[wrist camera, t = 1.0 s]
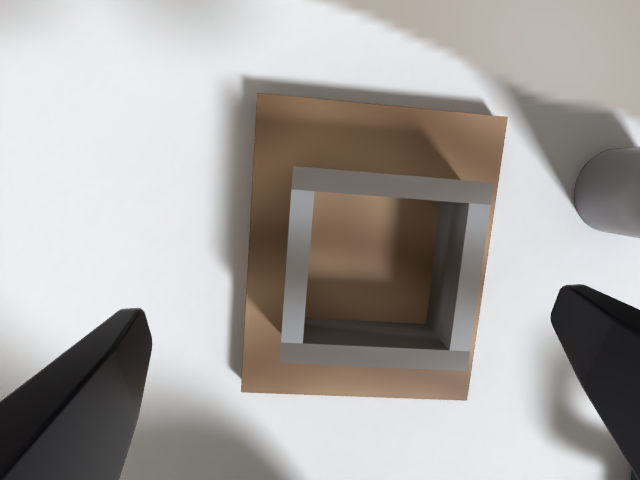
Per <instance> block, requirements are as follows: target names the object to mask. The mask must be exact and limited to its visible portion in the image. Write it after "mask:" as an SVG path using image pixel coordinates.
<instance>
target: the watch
mask: <svg viewBox="0 0 640 480" xmlns="http://www.w3.org/2000/svg"><path fill="white" fill-rule="evenodd" d="M631 480H638V478H637V477H636V475H635V473H634V472H633V470H632V473H631Z"/></svg>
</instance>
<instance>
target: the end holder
mask: <svg viewBox="0 0 640 480" xmlns="http://www.w3.org/2000/svg"><path fill="white" fill-rule="evenodd" d="M507 118H508V117H503V116H493V115H482V114H472V113H461V112H451V111H441V110H430V109H420V108H409V107H399V106H388V105H378V104H368V103H357V102H347V101H336V100H326V99H316V98H305V97H295V96H284V95H274V94H264V93H257V108H256V126H255V145H254V163H253V182H252V200H251V219H250V237H249V255H248V274H247V292H246V311H245V329H244V348H243V366H242V385H241V392H249V393H276V394H303V395H331V396H358V397H385V398H413V399H440V400H467V396H468V389H469V382H470V376H471V369H472V362H473V355H474V348H475V341H476V334H477V327H478V320H479V313H480V306H481V299H482V292H483V285H484V278H485V271H486V264H487V257H488V250H489V243H490V237H491V230H492V223H493V216H494V209H495V202H496V195H497V188H498V181H499V174H500V167H501V160H502V153H503V146H504V139H505V132H506V125H507Z"/></svg>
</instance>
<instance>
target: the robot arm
mask: <svg viewBox="0 0 640 480" xmlns="http://www.w3.org/2000/svg"><path fill="white" fill-rule="evenodd" d="M551 323H552V326H553V328H554V330H555V332H556V334H557V336H558V338H559V340H560V342H561V344H562V347H563V349H564V351H565V353H566V355H567V357H568V359H569V361H570V363H571V365H572V367H573V369H574V372H575V374H576V376H577V378H578V380H579V382H580V384H581V385H582V387H583V389H584V391H585V392H586V394H587V396H588V398H589V399H590V401H591V403H592V404H593V406H594V407H595V409H596V411H597V412H598V414H599V416H600V417H601V419H602V421H603V422H604V424H605V426H606V427H607V429H608V431H609V432H610V434H611V435H612V437H613V439H614V440H615V442H616V444H617V445H618V447H619V449H620V450H621V452H622V454H623V455H624V457H625V458H626V460H627V462H628V463H629V465H630V467H631V468H632V470H633V472H634V473H635V475H636V477H637V478H638V480H640V310H639V309H637V308H634V307H632V306H630V305H628V304H625V303H623V302H621V301H619V300H617V299H614V298H612V297H610V296H608V295H605V294H603V293H601V292H599V291H597V290H594V289H592V288H590V287H588V286H585V285H581V284H578V285H565V286H563V287H562V288H561V289H560V291H559V293H558V296H557V299H556V301H555V304H554V307H553V310H552V312H551ZM151 351H152V337H151V333H150V330H149V326H148V323H147V319H146V316H145V313H144V311H143V310H142V309H140V308H129V309H121V310H119V311H118V312H116V313H115V314H114V315H112V316H111V317H110V318H109V319H107V320H106V321H105V322H103V323H102V324H101V325H99V326H98V327H97V328H96V329H94V330H93V331H92V332H90V333H89V334H88V335H86V336H85V337H84V338H83V339H81V340H80V341H79V342H77V343H76V344H75V345H73V346H72V347H71V348H69V349H68V350H67V351H66V352H64V353H63V354H62V355H60V356H59V357H58V358H56V359H55V360H54V361H53V362H51V363H50V364H49V365H47V366H46V367H45V368H43V369H42V370H41V371H40V372H38V373H37V374H36V375H34V376H33V377H32V378H30V379H29V380H28V381H26V382H25V383H24V384H23V385H21V386H20V387H19V388H17V389H16V390H15V391H13V392H12V393H11V394H10V395H8V396H7V397H6V398H4V399H3V400H2V401H0V480H119V478H120V475H121V471H122V468H123V465H124V462H125V459H126V456H127V452H128V449H129V446H130V443H131V440H132V437H133V434H134V430H135V427H136V423H137V420H138V416H139V412H140V407H141V402H142V397H143V392H144V387H145V382H146V376H147V371H148V366H149V361H150V356H151Z"/></svg>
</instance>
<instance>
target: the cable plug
mask: <svg viewBox="0 0 640 480" xmlns="http://www.w3.org/2000/svg"><path fill="white" fill-rule="evenodd" d="M574 200H575V205H576V209H577V211H578V213H579V215H580V217H581V218H582V220H583V221H584V222H585V223H586V224H587V225H589V226H590V227H592V228H594V229H596V230H599V231H603V232H608V233H614V234H619V235H625V236H630V237H636V238H640V147H632V148H619V149H611V150H607V151H604V152H602V153H600V154H598V155H596V156H595V157H593V158H592V159H591V160H590V161H589V162H588V163H587V164H586V165H585V166H584V168H583V169H582V171H581V172H580V174H579V176H578V179H577V181H576V185H575V191H574Z"/></svg>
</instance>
